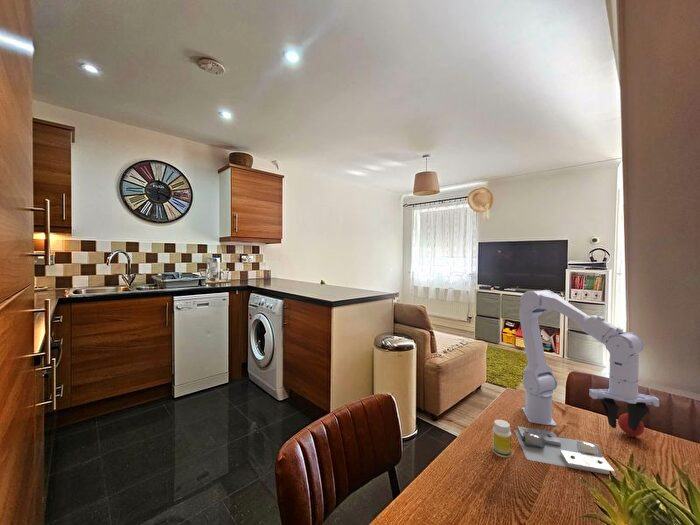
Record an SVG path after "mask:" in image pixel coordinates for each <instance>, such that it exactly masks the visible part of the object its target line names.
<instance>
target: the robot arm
mask: <svg viewBox="0 0 700 525" xmlns="http://www.w3.org/2000/svg"><path fill="white" fill-rule="evenodd" d="M519 303H520V304H519V305H520V307H519V309H518V310H519V311H518V318H519V323H520V328H521V334H522V338H523V339H522V340H523V345H524V350H525V356H526V357H525V358H526V360H527V361H526V362H527V364H526V365H525V367H524V369H523V371H522V373H523V378H522V385H523V388H524V389H525V395H524V407H521V410H522V409H523V410H522V411H523V413H524V415H525V417H526V419H527V420H528V422H529V423H533V424H538V425H539V424H540V425H545V426H554V427H557V422H555V420H554V419H553V394H554V390H556V389H557V388H558V380H557V378H556V376H555V374H554V372H553V368H552V367H550V366H549V365H548V364H547V362H546V356H545V350H544V344H543V340H542V335H541V329H540V323H539V319H538V318H539V317H540V316H541V315H542V314H543V313H544V312H545V311H547V310H548V311H549V310H550V311H551V310H553V311H556V312H558V313H559V314H561V315H563V316H565V317H567V318H568V319H570V320H572V321H574V322H575V323H577V324H579V325H580V329H581V330H582V332H584V333H585V334H587V335H589V336H590V337H592V338H593V339H595V340H596V341H598V342H599V343H601V344H602V345H604V346H605V348H606V350H607V351H608V353H609V372H608V373H609V375H608V376H609V381H608V382H609V383H608V388H603V389H602V388H596V389H595V388H589V389H588V390H589V394H588V395H589V397H590V398H592V399H593V400H599V401H600V403H601V405H602V407H603V409H604V412H605V414H606V418H607V421H608V422H607V423H608V425H609V426H610V427H611V428H612V429H616V428H617V416H618V412H619V409H620V407H619V405H618V404H616V403H617V402H624V403H625V402H626V406H627V413H628V427H630V428H631V429H632V430H633V431H636V430H637V427H638V425H639V423H640V421H642V419H643V418H644V417H645V416H646V415H647V414H648V413H649V412H650V408H649V407H648V406H649V405H650V406H652V407H660V399H659V398H658V397H656V396H655V395H648V394H643V393H639V371H640V370H639V365H640V364H639V361H640V360H639V358H640V355H639V354H640V353H642V351H643V350H644V348H645V347H644V346H645V344H644V342H643V340H642V338H641V337H639V336H638V335H637V334H636V333H634V332H631V331H624V329H623V328H621V327H616V326H615V325H614V324H612V323H610V322H608V321H606V318H605V317H604V316H602V315H599V316H598V315H595V314H593V315H588V314H586V312H584V311H582V310H580V309H579V308H577V307H576V306H574V305H573V304H571V303H570V302H568V301H567V300H565V299H564V298H563V297H561V296H560V295H559V294H557V293H555V292H553V291H552V290H549V289H543V290H526V291H525V292H524V293H523V294H522V295H521V296H519ZM616 401H617V402H616Z"/></svg>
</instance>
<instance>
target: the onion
mask: <svg viewBox="0 0 700 525" xmlns="http://www.w3.org/2000/svg"><path fill="white" fill-rule="evenodd" d="M617 424H618V425H619V428H620V429H621V430H622V431H623V433H625V434H626V435H627V436H628V437H631V438H632V437H633V438H634V437H639V436H641V435H642V434H643V433H644V432H645V425H644V423H643V421H642V420H641V421H640V423H639V425H638V427H637V430H636V431H633V430H632V429H631V428H630V427H628V412H625V413H622V414H621V415H619V417H618V420H617Z"/></svg>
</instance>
